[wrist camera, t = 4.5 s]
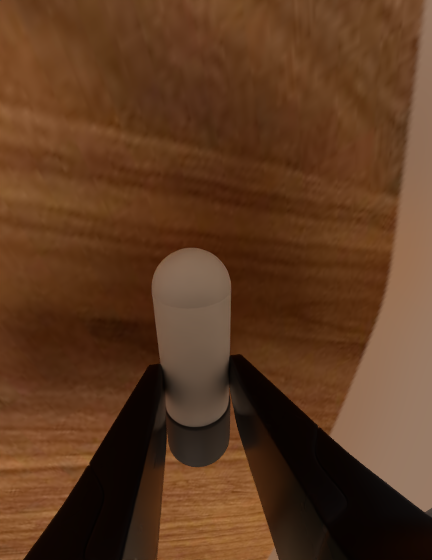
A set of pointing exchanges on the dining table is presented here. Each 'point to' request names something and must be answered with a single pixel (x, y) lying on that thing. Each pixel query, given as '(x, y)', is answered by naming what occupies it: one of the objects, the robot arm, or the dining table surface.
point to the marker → (194, 352)
